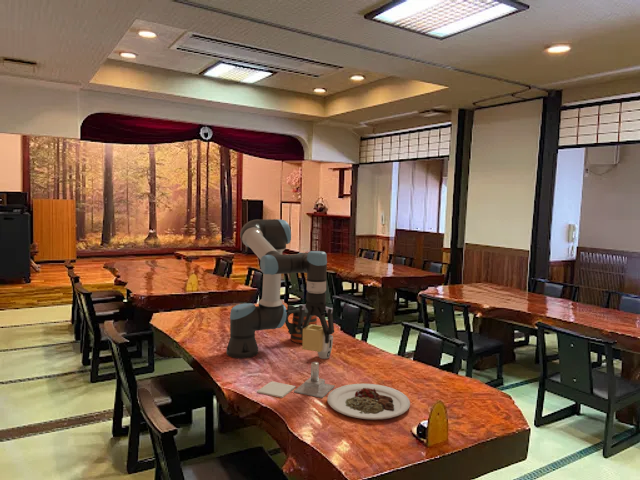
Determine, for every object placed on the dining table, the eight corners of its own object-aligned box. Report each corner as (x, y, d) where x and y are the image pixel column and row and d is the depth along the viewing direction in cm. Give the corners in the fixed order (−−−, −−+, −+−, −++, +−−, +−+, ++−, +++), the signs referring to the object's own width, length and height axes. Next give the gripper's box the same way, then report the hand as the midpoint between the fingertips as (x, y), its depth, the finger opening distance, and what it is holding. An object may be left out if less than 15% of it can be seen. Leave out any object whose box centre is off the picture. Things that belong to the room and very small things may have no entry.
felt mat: (257, 392, 180) (257, 391, 180) (271, 382, 190) (271, 381, 190) (282, 397, 176) (282, 396, 176) (295, 387, 186) (295, 386, 186)
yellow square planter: (302, 349, 181) (302, 328, 180) (310, 343, 188) (310, 324, 187) (319, 352, 178) (320, 331, 177) (327, 346, 185) (328, 326, 184)
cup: (330, 360, 218) (331, 339, 217) (313, 359, 220) (314, 338, 219) (333, 355, 226) (334, 334, 225) (317, 353, 228) (317, 333, 227)
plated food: (351, 430, 153) (351, 420, 152) (314, 395, 180) (314, 386, 180) (427, 414, 165) (427, 405, 165) (381, 383, 192) (382, 375, 192)
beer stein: (294, 347, 236) (294, 308, 234) (278, 340, 248) (278, 303, 246) (323, 341, 248) (324, 303, 246) (307, 334, 259) (307, 298, 258)
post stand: (293, 392, 181) (294, 365, 180) (307, 381, 192) (307, 356, 191) (322, 398, 176) (322, 370, 176) (334, 386, 187) (335, 360, 187)
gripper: (288, 290, 182) (287, 348, 184) (337, 296, 174) (335, 356, 176) (297, 287, 189) (296, 343, 191) (344, 292, 180) (342, 350, 182)
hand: (315, 349), depth 183 cm, fingers closed on yellow square planter, 7 cm apart
